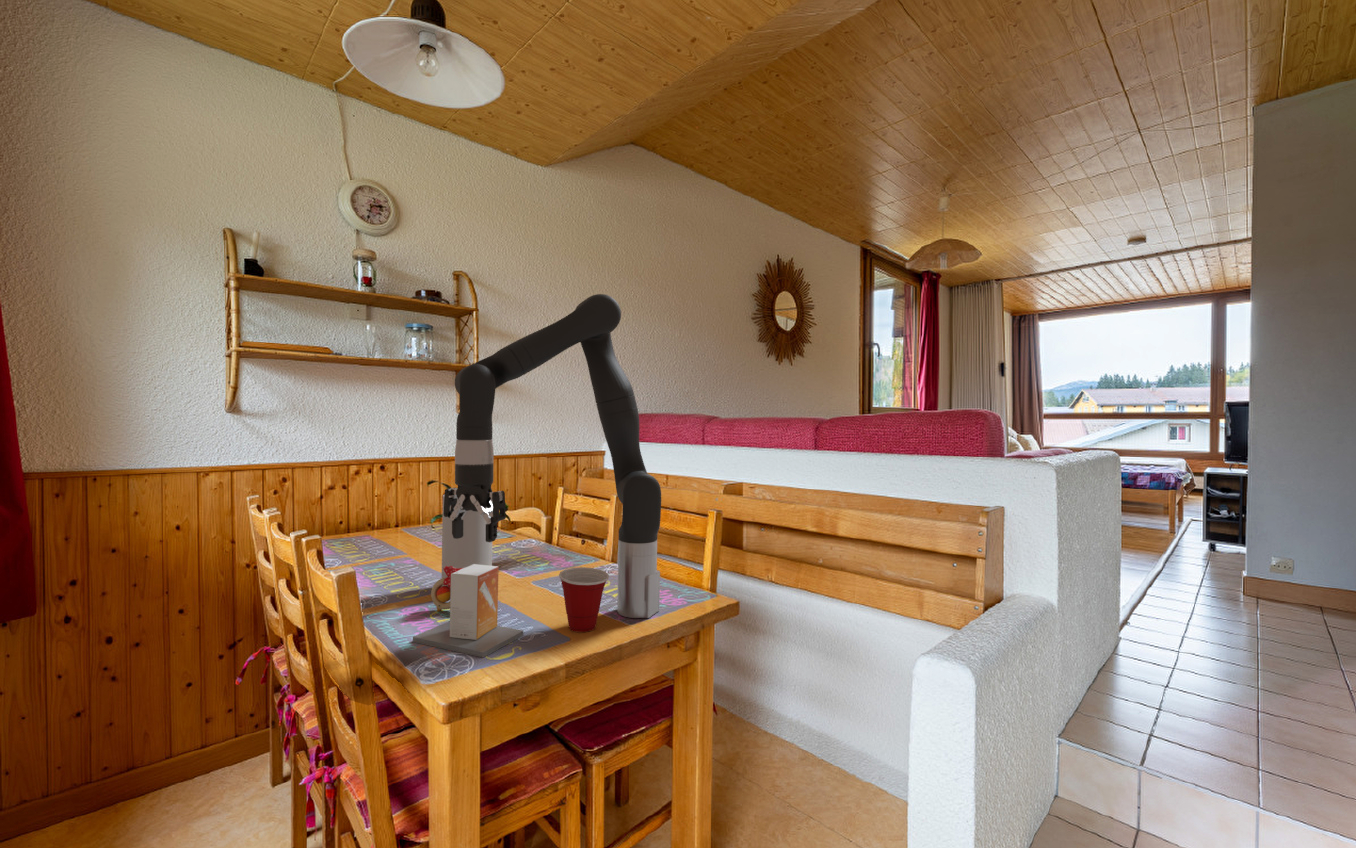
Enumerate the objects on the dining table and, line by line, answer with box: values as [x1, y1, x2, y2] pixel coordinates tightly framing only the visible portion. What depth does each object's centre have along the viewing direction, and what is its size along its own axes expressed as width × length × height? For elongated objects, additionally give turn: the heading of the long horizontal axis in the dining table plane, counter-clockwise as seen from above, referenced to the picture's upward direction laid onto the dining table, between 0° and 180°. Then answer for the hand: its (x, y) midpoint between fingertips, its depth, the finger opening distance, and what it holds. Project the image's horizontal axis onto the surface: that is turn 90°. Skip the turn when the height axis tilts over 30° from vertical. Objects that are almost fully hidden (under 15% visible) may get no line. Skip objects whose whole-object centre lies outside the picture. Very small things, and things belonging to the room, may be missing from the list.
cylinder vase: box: [441, 494, 493, 588], centre depth 148 cm, size 12×12×25 cm
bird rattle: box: [430, 566, 463, 612], centre depth 131 cm, size 6×11×9 cm
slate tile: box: [412, 620, 525, 658], centre depth 114 cm, size 18×12×1 cm, turn 68°
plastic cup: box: [558, 566, 610, 633], centre depth 121 cm, size 11×11×12 cm
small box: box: [449, 564, 500, 640], centre depth 115 cm, size 8×6×13 cm
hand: (474, 539), depth 115 cm, fingers open, 8 cm apart
